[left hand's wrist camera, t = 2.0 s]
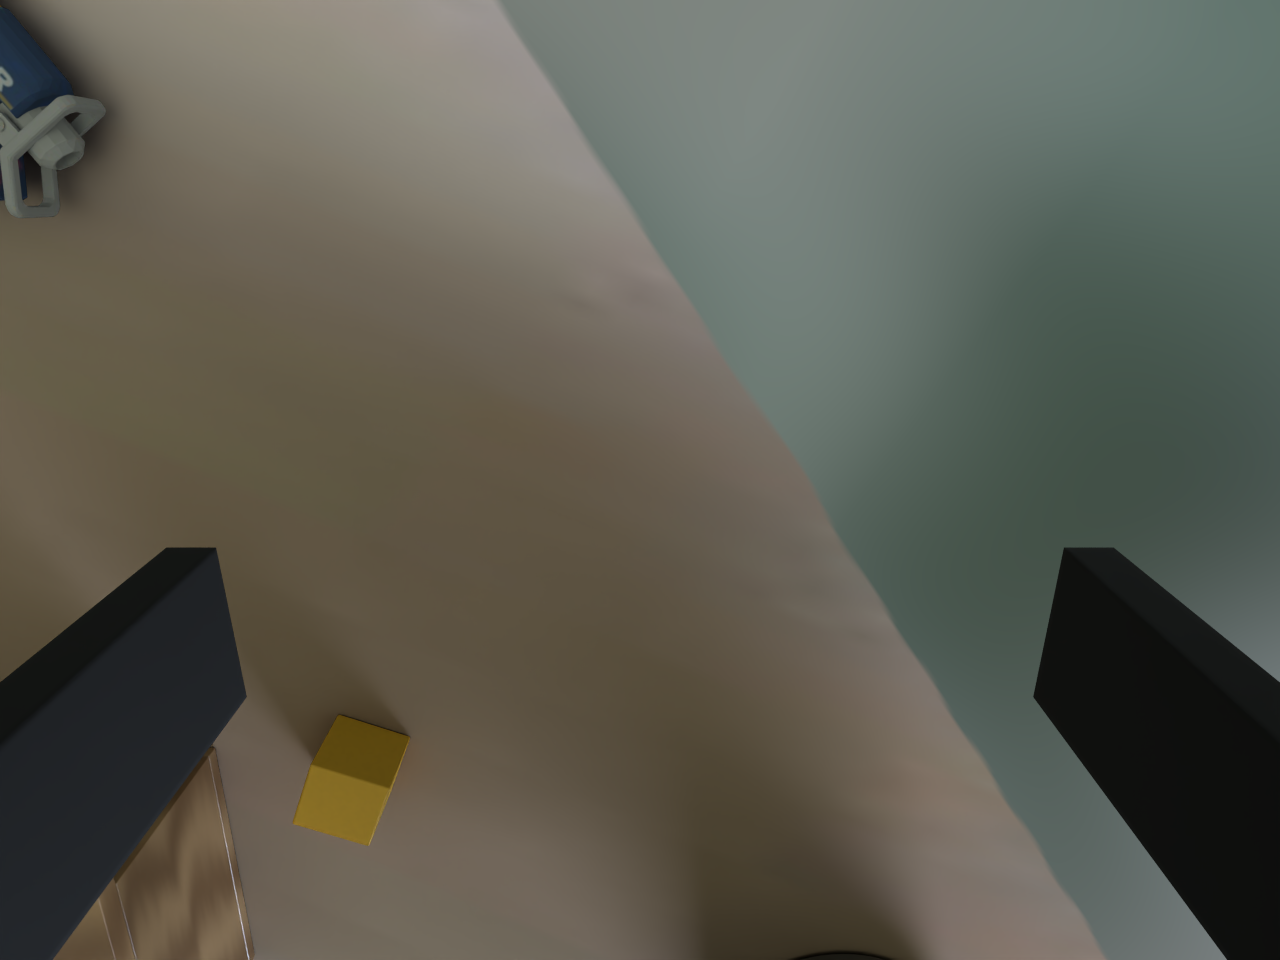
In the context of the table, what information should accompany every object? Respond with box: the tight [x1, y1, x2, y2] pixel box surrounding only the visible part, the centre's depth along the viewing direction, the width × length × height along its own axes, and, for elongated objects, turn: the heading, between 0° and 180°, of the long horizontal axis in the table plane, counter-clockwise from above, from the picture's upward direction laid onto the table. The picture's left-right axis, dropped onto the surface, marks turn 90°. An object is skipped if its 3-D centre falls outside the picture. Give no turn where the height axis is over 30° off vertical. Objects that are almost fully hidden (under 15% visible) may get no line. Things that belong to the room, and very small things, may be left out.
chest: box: [114, 747, 255, 960], centre depth 47 cm, size 17×11×10 cm
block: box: [293, 715, 410, 846], centre depth 46 cm, size 4×4×4 cm
